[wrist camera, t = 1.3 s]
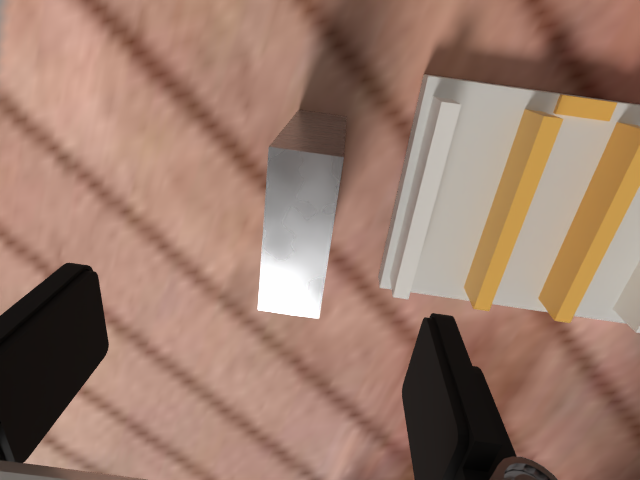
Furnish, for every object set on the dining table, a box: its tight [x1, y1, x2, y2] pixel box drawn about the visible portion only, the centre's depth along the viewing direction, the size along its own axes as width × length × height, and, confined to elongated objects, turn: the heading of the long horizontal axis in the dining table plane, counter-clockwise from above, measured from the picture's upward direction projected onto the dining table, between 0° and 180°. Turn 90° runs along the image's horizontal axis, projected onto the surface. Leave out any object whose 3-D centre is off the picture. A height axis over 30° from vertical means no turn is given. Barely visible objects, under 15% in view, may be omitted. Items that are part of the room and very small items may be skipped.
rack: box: [378, 74, 640, 333], centre depth 25 cm, size 14×23×4 cm, turn 83°
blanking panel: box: [258, 110, 346, 319], centre depth 22 cm, size 8×3×10 cm, turn 173°
